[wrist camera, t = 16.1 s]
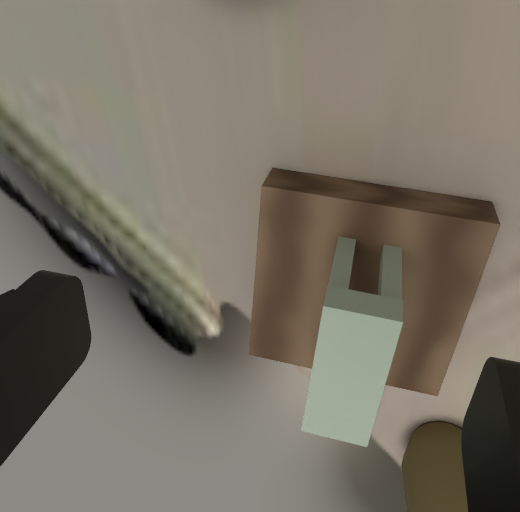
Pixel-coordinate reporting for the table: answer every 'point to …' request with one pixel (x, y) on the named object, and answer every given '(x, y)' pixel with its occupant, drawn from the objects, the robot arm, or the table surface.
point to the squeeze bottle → (435, 470)
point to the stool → (354, 348)
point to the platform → (367, 266)
